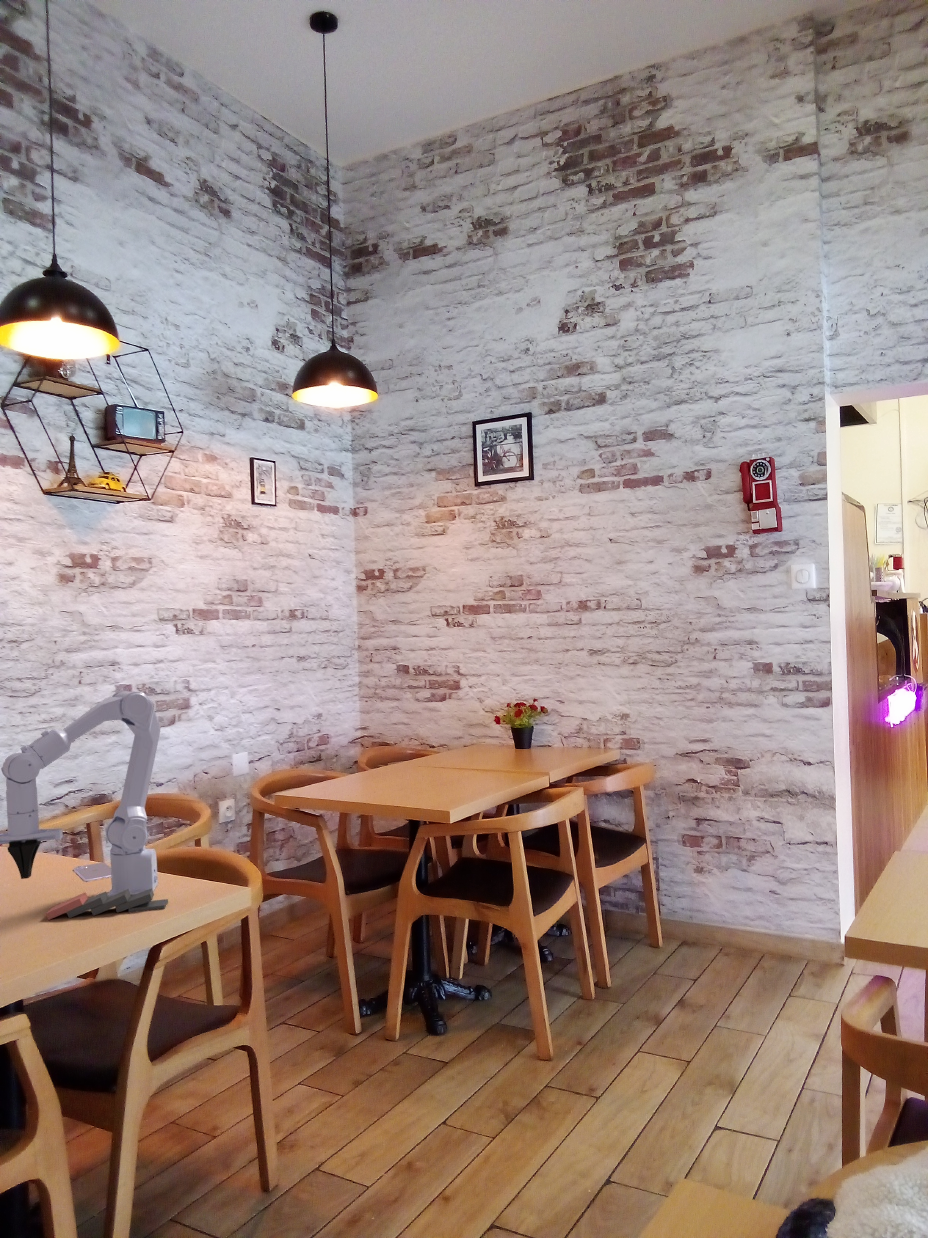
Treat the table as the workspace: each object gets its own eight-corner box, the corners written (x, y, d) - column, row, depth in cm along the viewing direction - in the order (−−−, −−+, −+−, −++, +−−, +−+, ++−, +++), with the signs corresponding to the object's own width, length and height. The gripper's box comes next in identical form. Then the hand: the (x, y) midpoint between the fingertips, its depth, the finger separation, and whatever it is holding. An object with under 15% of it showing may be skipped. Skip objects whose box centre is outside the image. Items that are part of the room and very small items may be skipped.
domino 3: (120, 906, 184) (154, 894, 186) (117, 913, 180) (152, 900, 181) (118, 900, 184) (152, 888, 186) (115, 906, 179) (149, 894, 181)
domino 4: (133, 909, 184) (168, 906, 185) (128, 916, 180) (164, 912, 181) (133, 902, 184) (168, 899, 185) (128, 909, 180) (164, 905, 181)
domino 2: (97, 909, 183) (131, 895, 184) (93, 916, 178) (127, 901, 180) (95, 903, 183) (128, 888, 184) (90, 910, 178) (124, 895, 180)
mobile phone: (85, 879, 205) (72, 867, 217) (85, 883, 205) (72, 871, 217) (119, 873, 209) (104, 861, 221) (119, 877, 209) (105, 865, 221)
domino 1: (75, 911, 182) (108, 897, 183) (69, 918, 178) (103, 904, 179) (72, 905, 182) (106, 891, 183) (66, 912, 178) (100, 897, 179)
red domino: (55, 913, 182) (88, 898, 183) (48, 920, 177) (82, 904, 178) (52, 907, 182) (85, 892, 183) (45, 914, 177) (79, 898, 178)
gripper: (65, 804, 187) (68, 868, 187) (-9, 810, 185) (-5, 875, 185) (55, 811, 180) (59, 877, 180) (-21, 817, 178) (-18, 885, 178)
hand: (26, 877), depth 182 cm, fingers closed
